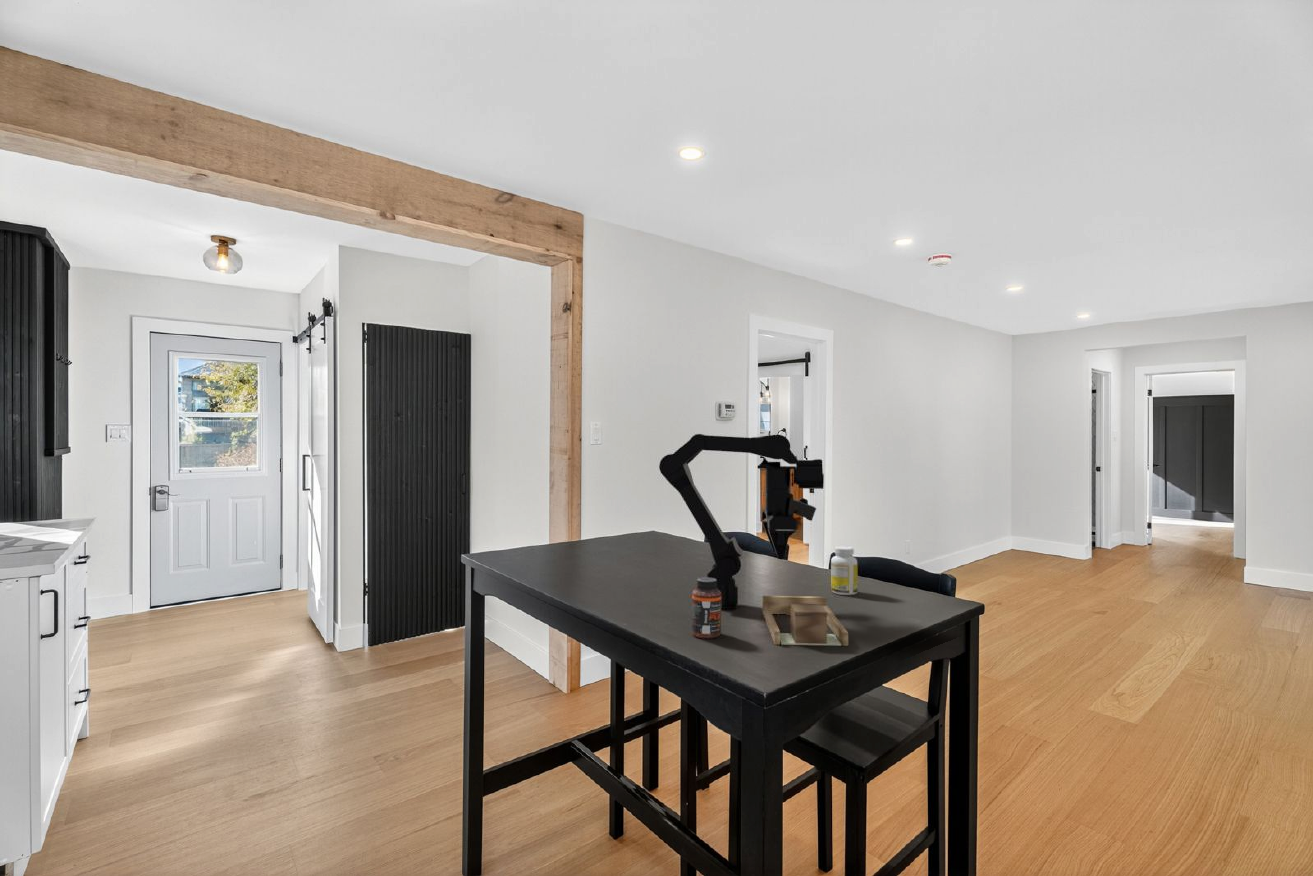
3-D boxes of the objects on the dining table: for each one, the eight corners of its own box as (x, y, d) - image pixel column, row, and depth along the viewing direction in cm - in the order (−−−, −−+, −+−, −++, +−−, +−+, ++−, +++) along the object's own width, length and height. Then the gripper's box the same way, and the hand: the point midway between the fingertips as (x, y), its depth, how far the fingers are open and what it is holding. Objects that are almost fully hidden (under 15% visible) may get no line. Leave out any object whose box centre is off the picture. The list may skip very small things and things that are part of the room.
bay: (774, 644, 120) (774, 623, 120) (762, 613, 141) (762, 595, 141) (848, 645, 119) (848, 624, 119) (825, 614, 140) (825, 596, 140)
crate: (794, 643, 119) (794, 612, 119) (789, 633, 126) (789, 603, 126) (827, 643, 119) (827, 612, 119) (820, 633, 125) (820, 604, 125)
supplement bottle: (713, 641, 121) (713, 584, 121) (686, 636, 125) (686, 580, 125) (726, 633, 126) (726, 578, 126) (700, 628, 130) (700, 574, 130)
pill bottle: (854, 590, 162) (854, 545, 162) (860, 596, 156) (860, 550, 156) (829, 589, 163) (829, 545, 163) (833, 595, 156) (833, 549, 156)
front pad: (781, 644, 120) (781, 642, 120) (777, 634, 126) (777, 633, 126) (841, 645, 119) (841, 644, 119) (834, 635, 125) (834, 634, 125)
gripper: (821, 492, 135) (821, 563, 135) (805, 485, 153) (805, 548, 153) (769, 491, 135) (769, 563, 135) (760, 485, 154) (760, 547, 154)
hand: (778, 555), depth 144 cm, fingers open, 9 cm apart
